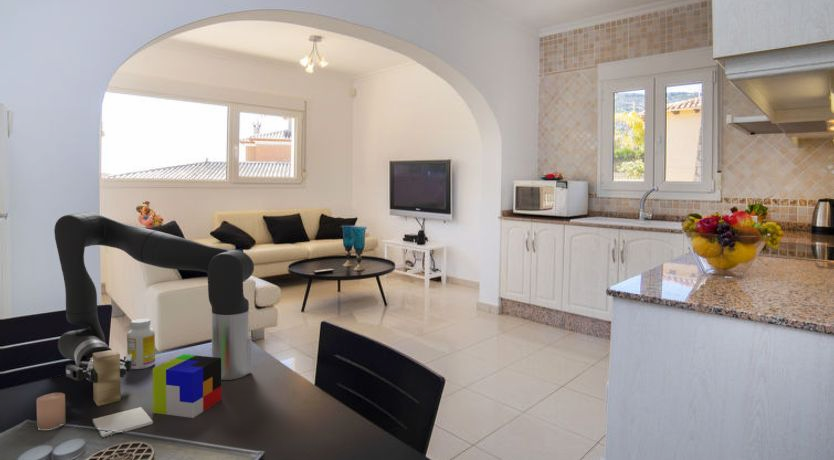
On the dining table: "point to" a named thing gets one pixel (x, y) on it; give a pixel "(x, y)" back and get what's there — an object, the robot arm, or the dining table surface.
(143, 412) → the coaster
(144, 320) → the supplement bottle
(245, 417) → the dining table surface
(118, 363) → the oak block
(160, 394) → the puzzle toy
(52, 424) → the peach short upright block
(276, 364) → the dining table surface
